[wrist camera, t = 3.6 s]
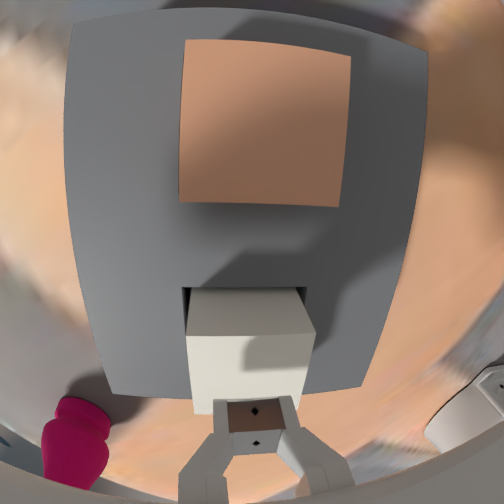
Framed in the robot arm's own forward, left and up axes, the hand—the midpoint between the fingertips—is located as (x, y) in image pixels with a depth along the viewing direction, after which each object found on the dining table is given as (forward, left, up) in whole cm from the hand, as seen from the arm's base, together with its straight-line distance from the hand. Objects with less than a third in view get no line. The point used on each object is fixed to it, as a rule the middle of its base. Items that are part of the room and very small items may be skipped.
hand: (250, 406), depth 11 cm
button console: (0, -5, -11) cm, 12 cm away
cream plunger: (0, 0, -7) cm, 7 cm away
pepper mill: (+16, +17, -11) cm, 26 cm away
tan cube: (0, -10, -6) cm, 12 cm away
